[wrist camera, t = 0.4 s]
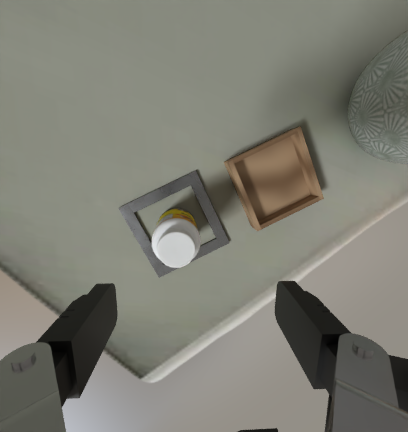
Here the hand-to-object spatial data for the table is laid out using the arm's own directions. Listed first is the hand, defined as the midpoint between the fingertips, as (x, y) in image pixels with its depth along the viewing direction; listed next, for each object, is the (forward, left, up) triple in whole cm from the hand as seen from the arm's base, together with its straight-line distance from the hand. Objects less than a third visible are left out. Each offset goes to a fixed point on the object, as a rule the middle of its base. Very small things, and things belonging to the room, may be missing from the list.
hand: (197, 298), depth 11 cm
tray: (-9, +11, -22) cm, 26 cm away
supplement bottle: (+2, 0, -22) cm, 22 cm away
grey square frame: (+2, 0, -22) cm, 22 cm away
